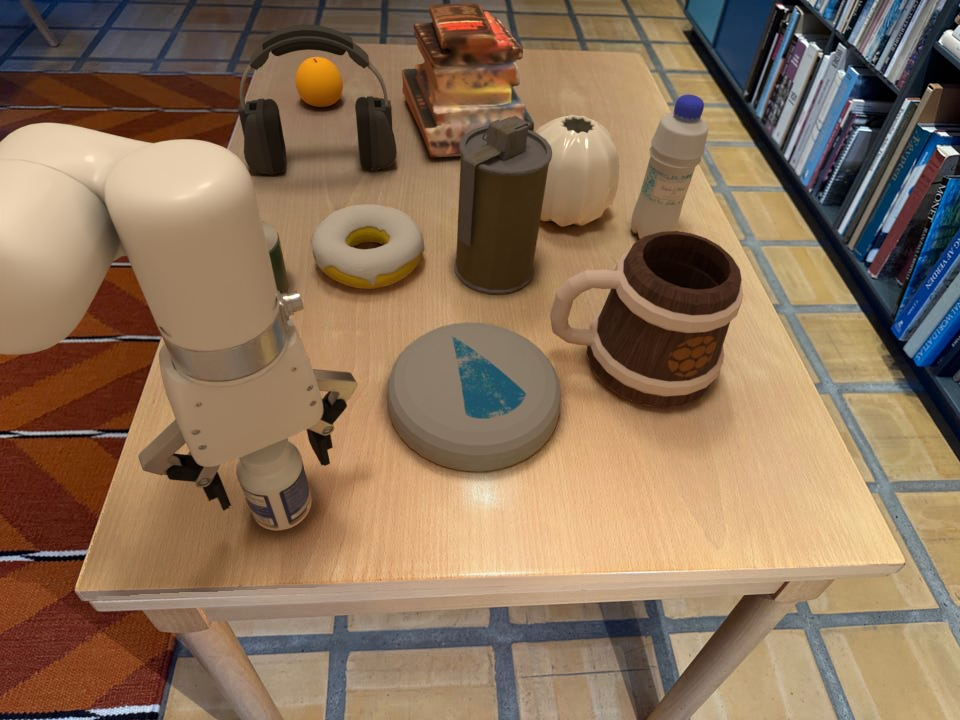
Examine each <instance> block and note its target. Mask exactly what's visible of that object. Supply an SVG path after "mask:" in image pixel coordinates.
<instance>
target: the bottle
mask: <svg viewBox="0 0 960 720" xmlns="http://www.w3.org/2000/svg"><path fill="white" fill-rule="evenodd" d="M704 109H705V103H704V100H703V99H702V98H701V97H700V96H698V95H695V94H689V93H688V94H683V95H681V96H679V97H678V98H677V99H676V102H675V105H674V107H673V111H672V112H668V113H666V114H664V115H663V116H662V117H661V118H660V121H659V123H658V125H657V127H656V130H655V132H654V135H653V136H652V138H651V141H650V143H651V144H650V148H649V156H650V157H649V160H648V163H647V167H646V171H645V174H644V178H643V181H642V184H641V189H640V192H639V194H638V197H637V200H636V203H635V205H634V207H633V211H632V215H631V220H630V221H631V222H630V227H631V231H632V233H633V234H636V235H637V236H638V240H640V239H641V238H643V237H644V236H648V235H651V234H655V233H659V232H666V231H676V228H677V226H678V224H679V220H680V216H681V213H682V208H683V205H684V201H685V198H686V195H687V193H688V190H689V187H690V184H691V182H692V179H693V175H694V172H695V170H696V167H697V166H699V165H700V163H701V160H702V157H703V155H704V153H705V150H706V149H705V148H706V144H707V143H706V142H707V137H708V133H709V124H708V123H707V122H706V120H704V119H703V118H702V115H703V112H704Z"/></svg>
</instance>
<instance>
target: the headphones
mask: <svg viewBox="0 0 960 720" xmlns="http://www.w3.org/2000/svg"><path fill="white" fill-rule="evenodd" d="M307 50H309V51H318V52H319V51H320V52H325V53H330V54H333V55H337V56H341V57H342V56H344V55H345V54H346V52H347V54H348V57H349V58H350V59H351V60H352V61H353V63H355V64H356V65H358V67H361V68H362V69H366V68H368V69H369V70H370V71H371V72H372V73H373V74H374V76H375V78H377V80H378V82H379V84H380V86H381V90H382V92H383V93H382V94H383V98H382V97H376V96H375V97H374V96H372V95H371V96H370V95H367V96H366V97H365V96H359V97H358V98H357V99H356V101H355V105H354V109H355V117H356V118H355V119H356V132H357V144H358V147H357V148H358V155H359V163H360V165H361V167H362V168H363V170H366V171H370V170H372V171H379V170H380V169H381V170H382V169H387V168H390V167H391V166H392V165H393V164H394V162H395V161H396V158H397V153H398V152H397V151H398V150H397V144H396V139H395V134H394V131H393V109H392V108H393V107H392V102H391V100H390V99H388V92H387V86H386V84H385V81H384V78H383V77H382V74H381V73H380V71H379V70H378V69H377V67H376V66H375V65H374V64H373V63H372V62H371V61H370V58H369V54H368V53H367V52H366V51H365V50H364V49H363V48H362V47H361V46H360V45H358V44H357V43H355V42H353V37H352V36H350V35H348V34H346V33H344V32H342V31H340V30H338V29H334V28H332V27H328V26H324V25H319V24H309V23H308V24H305V23H303V24H294V25H289V26H286V27H283V28H279V29H277V30H275V31H273V32H271V33H269V34H267V35H265V37H263V38H262V42H261V44H260V45H259V46H258V47H257V48H256V49H255V50H254V51H253V53H252V54H251V56H250V60H249V64H248V65H247V67H246V68H245V69H244V72H243V74H242V77H241V81H240V86H239V100H240V103H239V104H238V109H237V111H238V115H239V120H240V121H239V122H240V126H241V129H242V134H243V156H244V160H245V163H246V164H247V166H248V167H249V168H250V170H252V171H254V173H258V174H267V175H269V176H271V175H273V176H274V175H275V174H282V173H283V172H285V169H286V166H287V150H286V142H285V137H284V130H283V125H282V120H281V115H280V109H279V105H278V103H277V102H276V101H275V100H274V99H272V98H266V99H265V98H257V99H253V100H247V101H246V99H245V85H246V81H247V79H248V77H249V75H250V74H251V72H253V69H254V70H255V71H258V70H259V69H261V68H262V67H263V66H264V65H265V64H266V63H267V61H268V59H269V57H270V53H271V54H272V55H273V56H274V57H280V56H285V55H287V54H290V53H294V52H298V51H307Z"/></svg>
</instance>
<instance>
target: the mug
mask: <svg viewBox="0 0 960 720" xmlns="http://www.w3.org/2000/svg"><path fill="white" fill-rule="evenodd" d="M591 289H602V290H609V293H608V295H607V298H606V300H605V302H604V304H603V306H602V307H599V310H598V311H597V312H596V314H595V316H594V318H593V320H591V321H592V322H591V323H590V325H589V329H581V328H577V327H572V326H571V325H570V324H569V316H570V314H571V310H572V306H573V303H574V301H575V300H576V299H577V298H578V297H579V296H580V295H581V294H582V293H585V292H587V291H589V290H591ZM743 299H744V290H743V285H742V273H741V269H740V267H739V265H738V264H737V262H736V260H735V259H734V257H733V256H732V255H731V254H730V253H728V251H726V250H725V249H724V248H723V247H722V246H720V245H719V244H718V243H716V242H714V241H712V240H710V239H708V238H707V237H704V236H701V235H697V234H695V233H691V232H684V231H679V230H675V231H666V232H659V233H655V234H651V235H648V236H644V237H643V238H641V239H638V240H637V241H635V242H633V244H632V246H631V248H629V249H628V250H626V251H625V252H624V253H623V254H622V256H621V257H620V259H619V261H618V262H617V264H616V266H615V268H614V269H584V270H583V271H581V272H578V273H576V274H575V275H572V276H570V277H569V278H568V279H567V280H566V281H565V282H564V283H563V284H562V285H561V286H559V288H558V289H557V290H556V293H555V296H554V299H553V303H552V306H551V310H550V314H549V320H550V324H551V325H550V326H551V331H552V333H553V334H554V335H556V336H557V337H559V338H560V339H561V340H563V341H564V342H565V343H567V344H571V345H578V346H586V358H587V359H588V362H589V365H590V368H591V370H592V371H593V373H594V374H595V376H596V377H597V378H598V379H599V381H600V382H601V383H602V385H604V386H605V387H607V388H608V389H609V390H611V391H612V392H613V393H615V394H616V395H618V396H619V397H621V398H623V399H626V400H628V401H631V402H632V403H636V404H638V405H642V406H647V407H653V408H658V409H664V408H680V407H683V406H686V405H688V404H691V403H693V402H696V401H698V400H700V398H702V397H703V396H704V395H705V394H706V393H707V392H708V391H709V390H710V388H711V385H712V383H713V381H715V380H716V379H717V378H718V377H719V374H720V372H721V368H722V366H723V363H724V358H725V352H724V344H725V341H726V337H727V334H728V330H729V327H730V324H731V322H732V321H733V320H734V319H735V318H736V317H737V316H738V315H739V311H740V309H741V306H742V304H743V303H742V302H743Z"/></svg>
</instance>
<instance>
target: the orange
mask: <svg viewBox="0 0 960 720" xmlns="http://www.w3.org/2000/svg"><path fill="white" fill-rule="evenodd" d="M294 79H295V80H294V82H295V87H296V91H297V93H298V95H299V97H300V98H301V100H302V101H303V102H305V103H306V104H307V105H309V106H312V107H316V108H327V107H330V106H332V105H334V104H336V103H337V102H338V101H339V100H340V99H341V97H342V94H343V90H344V81H343V77H342V75H341V73H340V71H339V68H338V67H337V65H335V64H334V63H333V62H332V61H331V60H330V59H327V58H325V57H322V56H312V57H308V58H306V59H304V60H303V61H302V62H301V63H300V65H299V66H298V67H297V70H296V73H295V78H294Z"/></svg>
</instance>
